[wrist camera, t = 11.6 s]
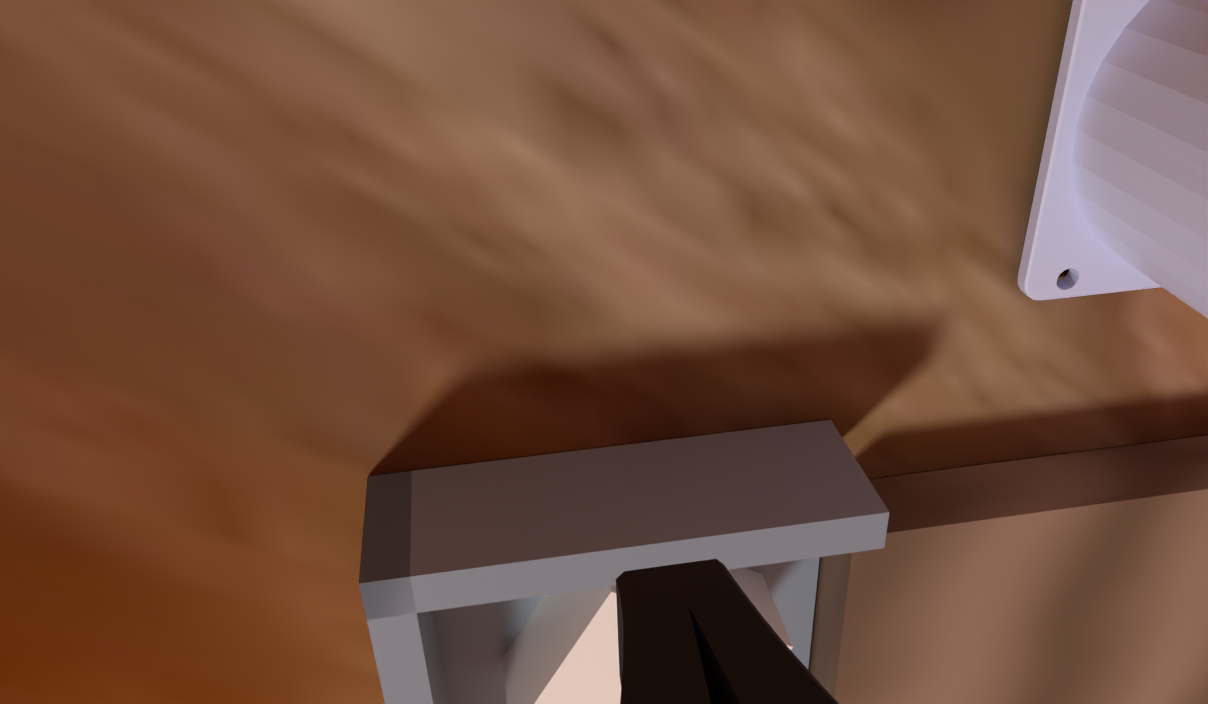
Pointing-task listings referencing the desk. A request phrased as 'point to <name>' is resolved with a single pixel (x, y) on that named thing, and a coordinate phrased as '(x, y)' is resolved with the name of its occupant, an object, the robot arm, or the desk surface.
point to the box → (594, 540)
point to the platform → (1027, 585)
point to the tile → (590, 645)
